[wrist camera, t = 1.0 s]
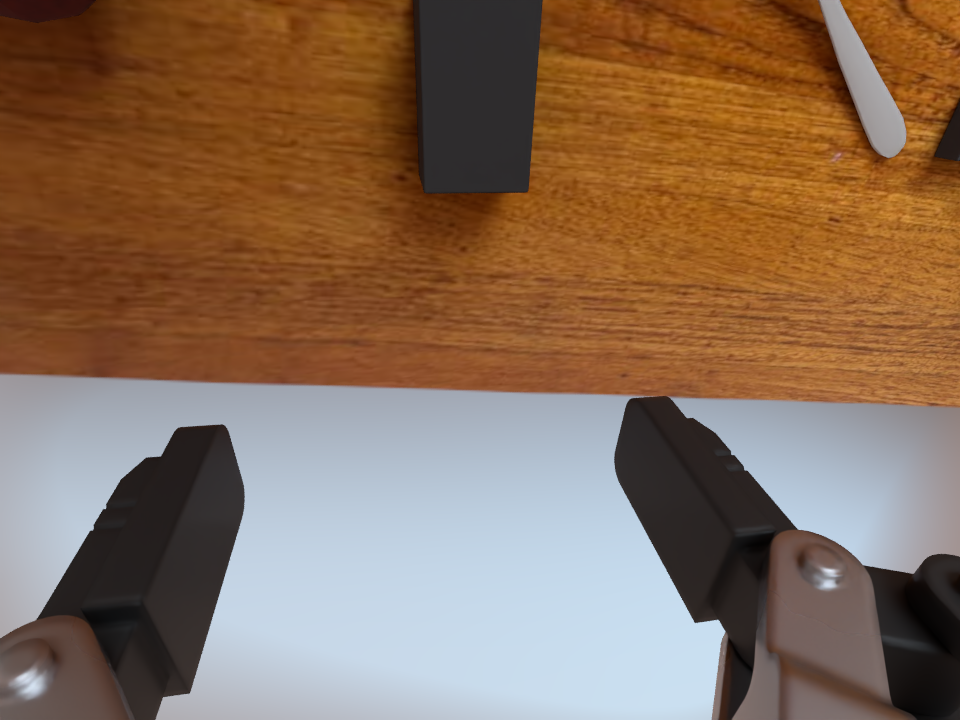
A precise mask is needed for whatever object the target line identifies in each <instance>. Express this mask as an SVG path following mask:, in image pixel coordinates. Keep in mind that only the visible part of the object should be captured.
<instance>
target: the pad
mask: <svg viewBox="0 0 960 720" xmlns="http://www.w3.org/2000/svg"><path fill="white" fill-rule="evenodd" d="M413 9H414V39H415V69H416V99H417V128H418V158H419V176H420V180H421V183H422V187H423V190H424V193H525V192H528V188H529V175H530V161H531V148H532V135H533V121H534V108H535V94H536V81H537V67H538V54H539V40H540V27H541V13H542V0H413Z"/></svg>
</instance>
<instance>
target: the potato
mask: <svg viewBox="0 0 960 720" xmlns="http://www.w3.org/2000/svg"><path fill="white" fill-rule="evenodd" d="M95 1H96V0H0V16H5V17H10V18H15V19H20V20H25V21H30V22H35V23H40V22H45V21H50V20H56V19H61V18H67V17H72V16H77V15H80V14H81V13H83V12H84V11H85V10H86V9H87V8H89V7H90V6H91V5H92V4H93V3H94V2H95Z"/></svg>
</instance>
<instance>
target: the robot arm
mask: <svg viewBox="0 0 960 720" xmlns="http://www.w3.org/2000/svg"><path fill="white" fill-rule="evenodd" d="M614 458H615V459H614V460H615V461H614V463H615V470H616V475H617V478H618V481H619V483H620V485H621V486H622V488H623V490H624V492H625V494H626V496H627V498H628V499H629V501H630V503H631V505H632V507H633V509H634V510H635V512H636V514H637V516H638V518H639V520H640V522H641V523H642V525H643V527H644V529H645V531H646V533H647V535H648V537H649V539H650V540H651V542H652V544H653V546H654V548H655V550H656V551H657V553H658V555H659V557H660V559H661V561H662V563H663V564H664V566H665V568H666V570H667V572H668V574H669V575H670V578H671V579H672V581H673V583H674V585H675V587H676V589H677V590H678V592H679V594H680V596H681V598H682V600H683V601H684V603H685V605H686V607H687V609H688V611H689V613H690V615H691V616H692V618H693V620H694V622H695V623H698V622H705V621H712V620H719V621H720V623H721V624H722V626H723V628H724V630H725V631H726V632H725V635H724V636H723V638H722V642H721V648H720V657H719V665H718V673H717V681H716V689H715V698H714V705H713V714H712V720H960V557H959V556H955V555H948V554H937V555H932V556H929V557H928V558H926V559H925V560H924V561H923V563H922V564H921V565H920V567H919V568H918V569H917V570H916V572H915V573H914V574H910V573H905V572H899V571H893V570H887V569H881V568H875V567H869V566H864V565H862V564H861V563H860V561H859V560H858V559H857V558H856V557H855V556H854V555H852V554H851V553H850V552H849V551H848V550H846V549H845V548H844V547H842V546H841V545H839V544H838V543H836V542H834V541H832V540H830V539H828V538H826V537H824V536H822V535H819V534H816V533H813V532H809V531H804V530H798V529H797V528H796V527H795V526H794V525H793V524H792V523H791V521H790V520H789V519H788V518H787V516H786V515H785V514H784V513H783V512H782V511H781V509H780V508H779V507H778V506H777V505H776V504H775V502H774V501H773V500H772V499H771V498H770V497H769V495H768V494H767V493H766V492H765V491H764V490H763V488H762V487H761V486H760V485H759V484H758V482H757V481H756V480H755V479H754V478H753V477H752V475H751V474H750V473H749V472H748V471H745V470H744V466H743V465H742V464H741V463H740V461H739V460H738V459H737V458H736V457H735V456H734V455H731V451H730V450H729V449H728V448H727V446H726V445H725V444H724V443H723V442H722V440H721V439H720V438H719V437H718V436H717V435H716V433H714V432H713V431H711V430H710V429H709V428H707V427H705V426H704V425H703V424H701V423H700V422H698V421H697V420H695V419H694V418H686V417H685V416H684V414H683V413H682V412H681V411H680V410H679V408H678V407H677V406H676V405H675V403H674V402H673V401H672V400H671V399H670V398H669V397H667V396H658V397H643V398H632V399H630V400H629V401H628V403H627V405H626V408H625V412H624V417H623V421H622V425H621V429H620V434H619V438H618V442H617V446H616V451H615V457H614ZM244 497H245V496H244V485H243V481H242V477H241V474H240V470H239V467H238V463H237V460H236V456H235V453H234V449H233V446H232V442H231V439H230V435H229V432H228V430H227V428H226V427H225V426H224V425H208V426H193V427H180V428H178V429H176V431H175V432H174V434H173V435H172V437H171V439H170V441H169V443H168V445H167V446H166V448H165V450H164V452H163V454H162V456H161V457H150V458H149V457H148V458H145V459H144V460H143V461H142V462H141V463H140V464H139V465H137V466H136V467H135V468H134V469H133V470H132V471H130V472H129V473H128V474H127V475H126V476H125V477H123V478H122V479H121V480H120V482H119V484H118V485H117V487H116V489H115V490H114V492H113V494H112V495H111V497H110V499H109V500H108V502H107V504H106V509H103V511H102V512H101V514H100V515H99V517H98V519H97V520H96V522H95V524H94V530H93V531H90V532H89V534H88V535H87V537H86V539H85V541H84V542H83V544H82V546H81V547H80V549H79V551H78V552H77V554H76V555H75V557H74V559H73V560H72V562H71V564H70V565H69V567H68V569H67V570H66V572H65V574H64V576H63V577H62V579H61V581H60V582H59V584H58V585H57V587H56V589H55V590H54V592H53V594H52V596H51V597H50V599H49V601H48V602H47V604H46V605H45V607H44V609H43V610H42V612H41V614H40V615H39V617H38V618H37V620H36V621H33V622H31V623H28V624H26V625H24V626H21V627H20V628H17V629H15V630H14V631H12V632H10V633H9V634H7V635H5V636H3V637H2V638H0V720H155V719H156V716H157V713H158V710H159V707H160V704H161V701H162V698H163V697H167V696H174V695H181V694H188V693H190V691H191V688H192V685H193V681H194V678H195V674H196V671H197V668H198V664H199V661H200V658H201V654H202V651H203V647H204V644H205V641H206V637H207V634H208V631H209V627H210V624H211V620H212V617H213V613H214V610H215V607H216V604H217V600H218V597H219V594H220V590H221V587H222V584H223V580H224V577H225V573H226V570H227V567H228V563H229V560H230V556H231V553H232V550H233V546H234V543H235V540H236V536H237V533H238V530H239V526H240V523H241V520H242V516H243V511H244Z"/></svg>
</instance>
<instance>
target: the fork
mask: <svg viewBox="0 0 960 720" xmlns="http://www.w3.org/2000/svg"><path fill="white" fill-rule="evenodd" d="M818 2H819V5H820V8H821V11H822V14H823V17H824V20H825V23H826V26H827V29H828V32H829V35H830V38H831V41H832V44H833V47H834V51H835V54H836V57H837V60H838V63H839V65H840V68H841V71H842V73H843V76H844V78H845V81H846V84H847V86H848V89H849V91H850V94H851V96H852V99H853V102H854V104H855V107H856V110H857V112H858V115H859V117H860V120H861V123H862V125H863V128H864V130H865V132H866V135H867V137H868V139H869V142H870V144H871V146H872V147H873V148H874V149H875V150H876V152H877V153H878V154H879V155H882V156H885V157H887V158H891V157H894V156H895V155H897V154H898V153H899V152H900V150H901V149H902V148H903V146H904V145H905V143H906V129H905V124H904V120H903V117H902V115H901V113H900V111H899V110H898V108H897V106H896V104H895V102H894V100H893V98H892V97H891V95H890V93H889V91H888V89H887V88H886V86H885V84H884V82H883V81H882V79H881V77H880V75H879V74H878V72H877V70H876V68H875V66H874V64H873V62H872V61H871V59H870V57H869V55H868V53H867V51H866V49H865V47H864V45H863V43H862V41H861V40H860V38H859V36H858V34H857V33H856V31H855V29H854V27H853V26H852V24H851V22H850V20H849V19H848V17H847V15H846V13H845V11H844V9H843V7H842V5H841V3H840V1H839V0H818Z"/></svg>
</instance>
